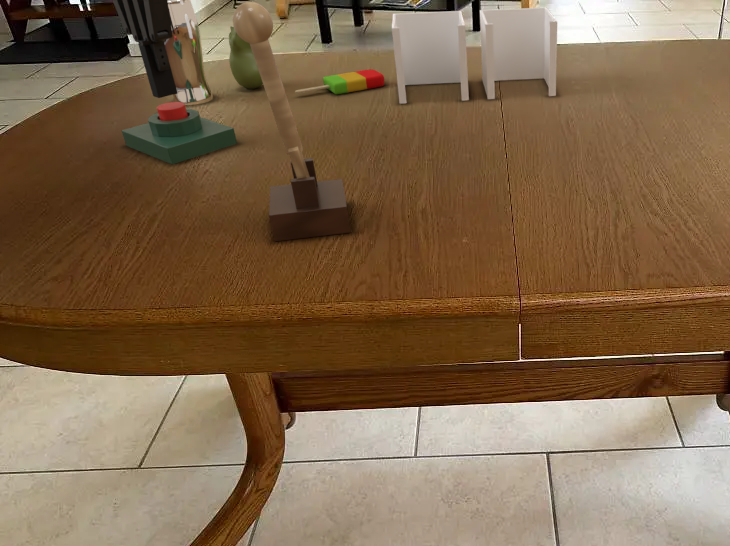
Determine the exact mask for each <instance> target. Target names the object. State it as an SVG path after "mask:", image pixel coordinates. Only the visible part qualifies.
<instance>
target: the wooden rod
mask: <svg viewBox="0 0 730 546" xmlns="http://www.w3.org/2000/svg"><path fill="white" fill-rule="evenodd" d="M232 27H234V29H235V31H236V33H237V34H238V36H239V37H240V38H241V39H243V40H244V41H246V42H248V43H250V46H251V49H252V52H253V55H254V58H255V61H256V64H257V67H258V70H259V73H260V76H261V79H262V82H263V85H262V86H263V87H264V91H265V93H266V96H267V100H268V102H269V105H270V109H271V111H272V115H273V117H274V120H275V123H276V126H277V127H276V128H277V129H278V132H279V135H280V138H281V142H282V144H283V147H284V150H285V153H286V154H287V155H289V159H290V162H291V161H292V164H293V167H294V170H295V173H296V176H297V178H306V177H310V176H309V173H308V170H307V167H306V163H305V160H304V159H305V157H304V154H303V151H304V145H303V143H302V139H301V136H300V134H299V132H298V127H297V125H296V122H295V118H294V116H293V113H292V108H291V106H290V103H289V99H288V96H287V93H286V90H285V86H284V84H283V80H282V78H281V75H280V71H279V68H278V65H277V62H276V59H275V56H274V52H273V50H272V46H271V43H270V40H269V39H270V38H271V36H272V34H273V31H274V21H273V18H272V16H271V14H270V12H269V10H268V9H266V8H265V7H264V6H263V5H261V4H260V3H258V2H254V1H246V2H243V3H241V4H240V5H238V6H237V7H236V8H235V10H234V12H233V15H232Z"/></svg>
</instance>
